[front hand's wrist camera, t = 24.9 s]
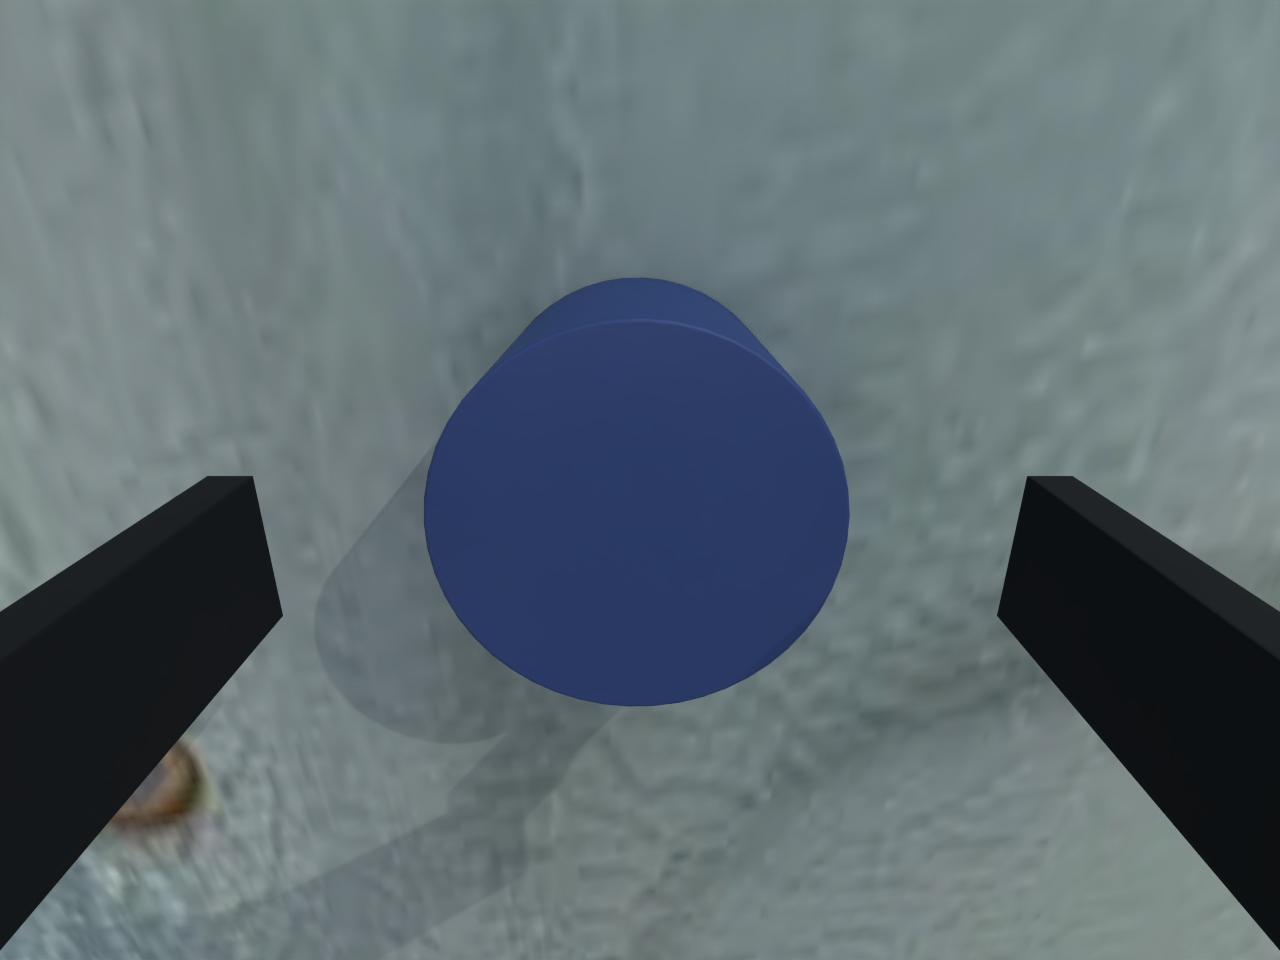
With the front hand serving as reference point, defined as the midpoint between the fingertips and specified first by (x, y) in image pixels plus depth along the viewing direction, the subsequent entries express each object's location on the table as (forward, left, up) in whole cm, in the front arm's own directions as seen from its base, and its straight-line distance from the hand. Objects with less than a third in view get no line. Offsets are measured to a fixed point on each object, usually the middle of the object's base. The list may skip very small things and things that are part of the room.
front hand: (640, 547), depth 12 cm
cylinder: (0, 0, -9) cm, 9 cm away
